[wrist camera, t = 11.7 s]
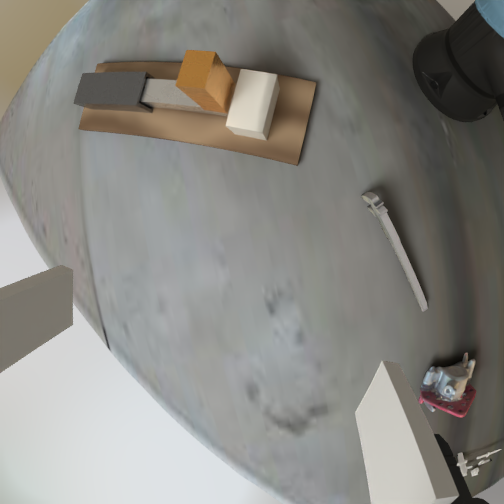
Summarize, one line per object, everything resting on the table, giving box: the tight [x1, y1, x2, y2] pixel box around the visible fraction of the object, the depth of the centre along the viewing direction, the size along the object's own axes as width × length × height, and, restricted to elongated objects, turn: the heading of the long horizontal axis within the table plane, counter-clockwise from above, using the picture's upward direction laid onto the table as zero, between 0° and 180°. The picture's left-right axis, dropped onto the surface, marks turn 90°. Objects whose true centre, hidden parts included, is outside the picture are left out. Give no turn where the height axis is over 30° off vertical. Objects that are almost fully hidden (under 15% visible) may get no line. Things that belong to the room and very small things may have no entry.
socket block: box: [226, 69, 280, 141], centre depth 35 cm, size 8×4×6 cm, turn 167°
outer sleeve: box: [74, 72, 156, 113], centre depth 37 cm, size 5×12×5 cm, turn 77°
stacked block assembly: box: [139, 50, 236, 117], centre depth 31 cm, size 4×22×13 cm, turn 77°
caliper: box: [361, 192, 428, 311], centre depth 37 cm, size 20×1×6 cm, turn 35°
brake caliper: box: [418, 353, 476, 417], centre depth 38 cm, size 11×11×12 cm
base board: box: [79, 62, 316, 166], centre depth 39 cm, size 12×36×2 cm, turn 77°
